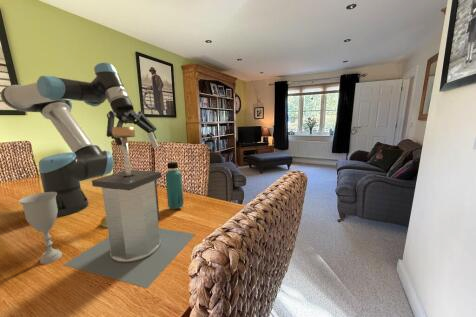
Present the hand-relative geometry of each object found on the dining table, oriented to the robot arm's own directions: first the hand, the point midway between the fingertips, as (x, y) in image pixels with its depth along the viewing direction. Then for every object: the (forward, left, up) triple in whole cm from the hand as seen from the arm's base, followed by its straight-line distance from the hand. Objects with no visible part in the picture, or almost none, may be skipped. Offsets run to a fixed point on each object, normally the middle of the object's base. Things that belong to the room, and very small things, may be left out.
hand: (142, 149), depth 80 cm
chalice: (-3, -33, -26) cm, 42 cm away
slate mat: (+16, -23, -25) cm, 38 cm away
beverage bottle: (+11, +4, -26) cm, 28 cm away
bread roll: (-4, -12, -26) cm, 29 cm away
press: (+16, -22, -25) cm, 37 cm away
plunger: (+16, -23, -13) cm, 31 cm away
